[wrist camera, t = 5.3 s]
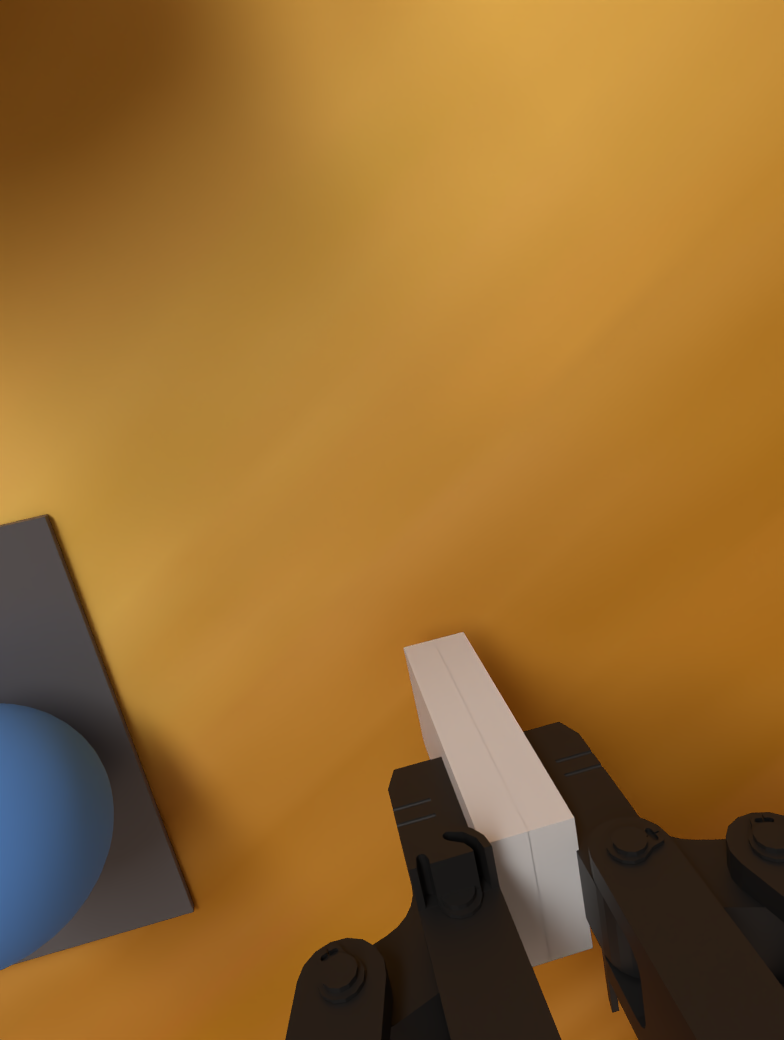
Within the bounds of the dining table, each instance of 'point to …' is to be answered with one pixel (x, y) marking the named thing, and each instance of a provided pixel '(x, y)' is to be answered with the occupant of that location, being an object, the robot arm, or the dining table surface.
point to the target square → (83, 733)
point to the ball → (47, 827)
